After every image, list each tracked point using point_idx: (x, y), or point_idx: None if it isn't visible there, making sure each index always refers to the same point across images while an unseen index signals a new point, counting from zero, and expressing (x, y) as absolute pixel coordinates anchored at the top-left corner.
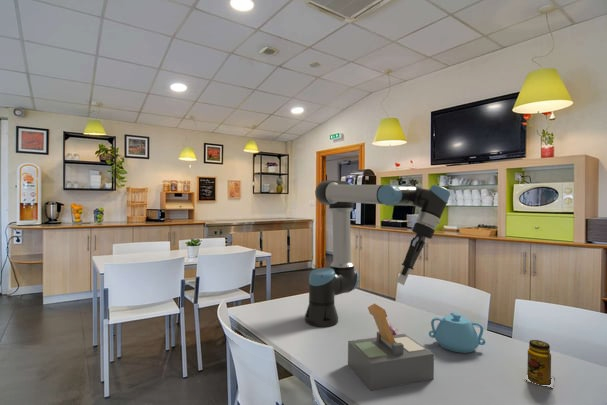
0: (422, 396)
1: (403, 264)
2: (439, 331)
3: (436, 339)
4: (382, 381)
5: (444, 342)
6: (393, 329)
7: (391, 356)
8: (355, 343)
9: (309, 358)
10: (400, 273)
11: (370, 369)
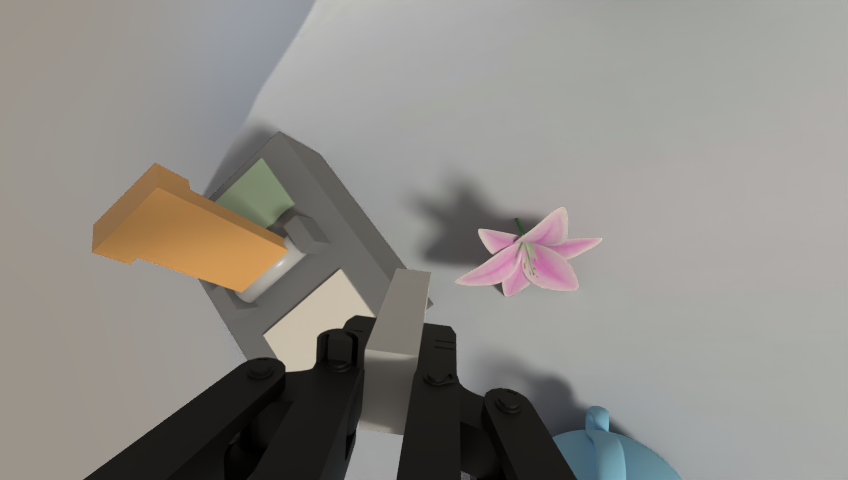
0: (241, 359)
1: (319, 355)
2: None
3: (561, 434)
4: None
5: None
6: (567, 252)
7: None
8: (262, 159)
9: (315, 45)
10: (383, 306)
11: None
